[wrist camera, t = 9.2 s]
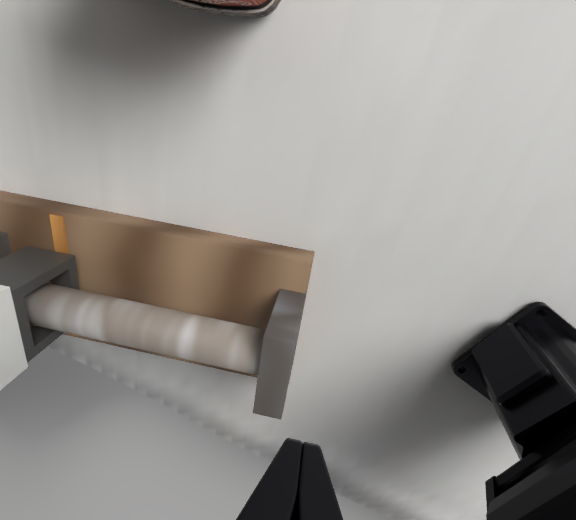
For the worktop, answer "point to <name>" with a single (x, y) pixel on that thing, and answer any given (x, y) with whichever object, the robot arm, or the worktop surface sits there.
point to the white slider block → (12, 310)
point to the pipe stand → (167, 290)
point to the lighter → (232, 6)
